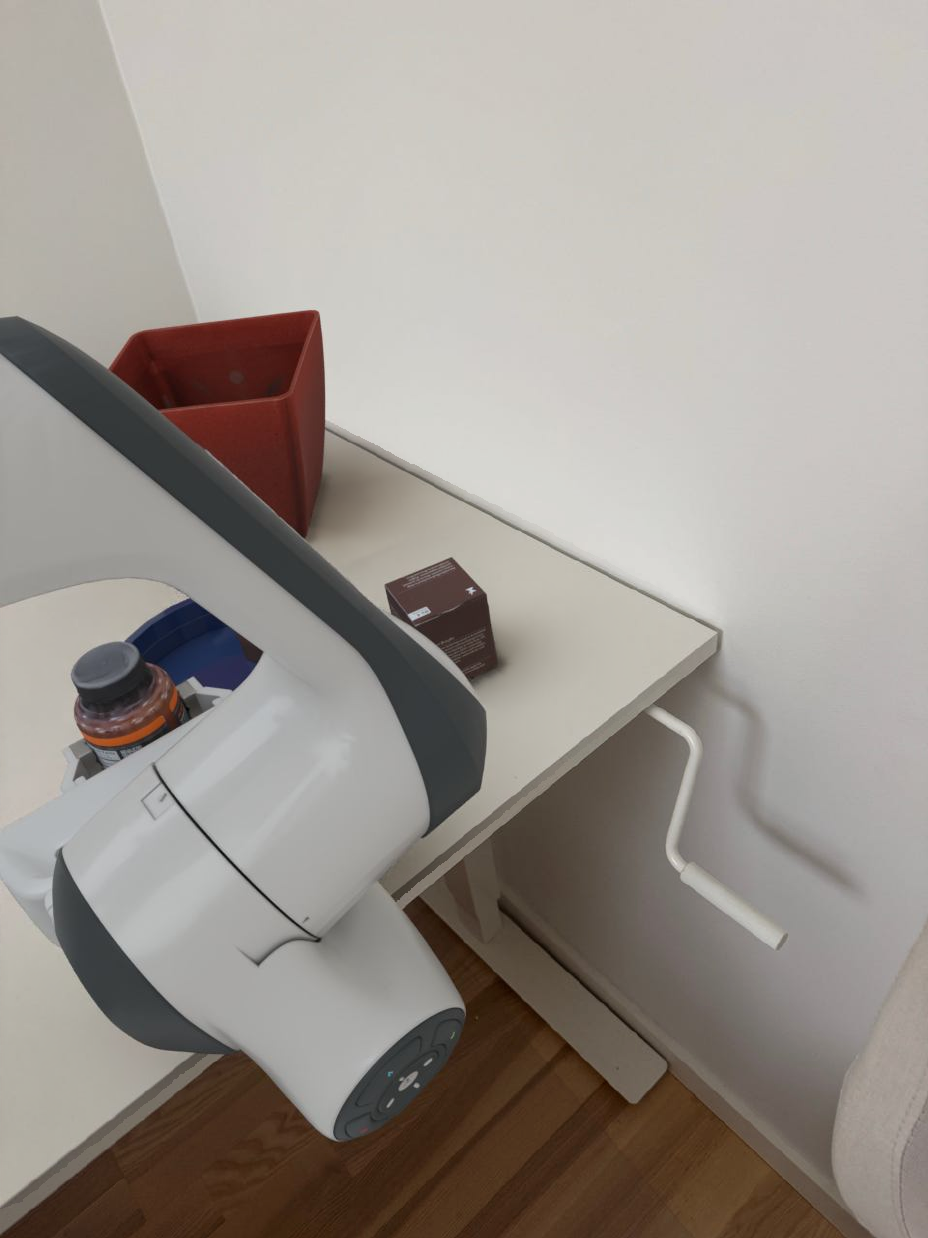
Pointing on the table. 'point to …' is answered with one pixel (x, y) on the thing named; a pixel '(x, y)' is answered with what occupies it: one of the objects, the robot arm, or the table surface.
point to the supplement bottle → (123, 701)
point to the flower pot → (243, 399)
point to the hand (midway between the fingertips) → (131, 720)
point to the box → (447, 613)
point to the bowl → (193, 647)
